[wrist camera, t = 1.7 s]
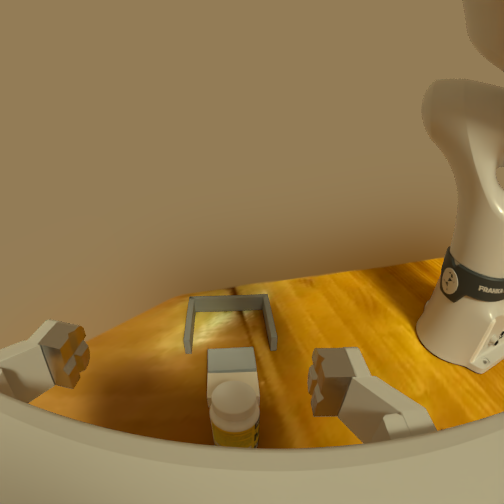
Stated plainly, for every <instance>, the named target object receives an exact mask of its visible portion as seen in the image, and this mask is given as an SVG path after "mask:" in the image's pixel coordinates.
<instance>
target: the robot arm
mask: <svg viewBox="0 0 504 504" xmlns="http://www.w3.org/2000/svg"><path fill="white" fill-rule="evenodd" d="M462 1H463V7H464V13H465V19H466V27H467V33H468V36H469V38H470V41H471V42H472V44H473V45H474V47H475V48H476V49H477V50H478V52H479V53H481V55H483V57H485V58H486V59H487V60H488V61H489V62H491V63H492V64H493V65H495V66H496V67H498V68H499V69H501V70H502V71H503V72H504V0H462ZM422 119H423V123H424V126H425V129H426V131H427V133H428V135H429V137H430V138H431V140H432V141H433V142H434V143H435V144H436V145H437V146H438V148H439V149H440V150H441V151H442V152H443V154H444V156H445V157H446V159H447V160H448V162H449V164H450V166H451V169H452V171H453V174H454V177H455V181H456V185H457V191H458V208H457V216H456V223H455V229H454V234H453V238H452V243H451V246H450V247H448V249H447V252H446V255H445V257H444V262H443V265H442V269H441V275H440V278H439V280H438V282H437V285H436V287H435V289H434V291H433V294H432V296H431V298H430V301H427V303H426V305H425V307H424V312H423V314H422V315H421V317H420V318H419V320H418V321H417V325H416V331H417V334H418V337H419V339H420V340H421V342H422V343H423V345H424V346H425V347H426V348H427V349H428V350H429V351H430V352H432V353H433V354H434V355H436V356H438V357H439V358H441V359H443V360H445V361H448V362H451V363H454V364H458V365H462V366H465V367H467V368H469V369H471V370H472V371H474V372H477V373H480V374H482V373H484V372H486V371H487V370H489V369H490V368H491V367H493V366H494V365H496V364H497V363H498V362H500V361H501V360H502V359H504V189H503V188H502V187H501V186H500V184H499V183H498V181H497V178H496V169H497V168H498V167H504V88H503V87H499V86H495V85H491V84H486V83H482V82H478V81H473V80H468V79H442V80H436V81H435V82H433V83H432V84H431V85H430V86H429V88H428V89H427V91H426V93H425V95H424V98H423V102H422ZM85 336H86V335H85V331H84V328H83V327H82V326H79V325H74V324H70V323H65V322H59V321H55V320H51V319H49V320H46V321H45V322H44V323H43V324H42V325H41V326H40V327H39V328H38V330H37V331H36V332H35V333H34V334H33V335H32V336H31V337H30V338H29V339H28V340H27V341H21V342H19V343H16V344H14V345H11V346H8V347H6V348H3V349H0V504H504V412H501V413H499V414H496V415H493V416H490V417H486V418H483V419H480V420H477V421H473V422H470V423H466V424H463V425H459V426H455V427H452V428H448V429H444V430H439V431H437V430H436V428H435V426H434V424H433V422H432V420H431V418H430V416H429V414H428V412H427V410H426V408H424V407H423V406H421V405H419V404H418V403H416V402H415V401H413V400H412V399H410V398H408V397H407V396H405V395H404V394H402V393H401V392H399V391H398V390H396V389H394V388H393V387H391V386H390V385H388V384H387V383H385V382H384V381H382V380H381V379H379V378H378V377H376V376H371V374H370V372H369V370H368V367H367V365H366V363H365V361H364V359H363V356H362V354H361V352H360V350H359V348H358V347H343V348H315V349H314V351H313V355H312V360H313V365H312V366H311V367H310V368H309V373H308V391H309V394H310V395H312V400H311V406H312V411H313V416H314V417H320V416H338V418H339V419H340V420H341V421H342V422H343V423H344V424H345V425H346V426H347V427H348V428H349V429H350V430H351V431H352V432H353V433H354V434H355V435H356V436H357V437H358V438H359V439H360V440H361V441H362V442H363V443H364V444H356V445H346V446H334V447H319V448H293V449H266V448H239V447H224V446H212V445H202V444H193V443H185V442H178V441H171V440H164V439H158V438H152V437H146V436H141V435H136V434H131V433H126V432H122V431H117V430H113V429H108V428H104V427H100V426H96V425H93V424H89V423H85V422H82V421H78V420H75V419H71V418H68V417H65V416H62V415H59V414H56V413H53V412H50V411H47V410H44V409H41V408H38V407H35V406H33V405H30V404H27V403H29V402H30V401H32V400H33V399H35V398H37V397H38V396H40V395H41V394H43V393H44V392H46V391H47V390H49V389H50V388H52V387H53V386H55V385H58V386H62V387H66V388H70V389H74V387H75V386H76V384H77V382H78V381H79V379H80V374H79V373H80V372H82V371H84V370H85V369H86V368H87V366H88V364H89V359H90V351H89V347H88V345H87V344H86V343H85V341H84V338H85Z"/></svg>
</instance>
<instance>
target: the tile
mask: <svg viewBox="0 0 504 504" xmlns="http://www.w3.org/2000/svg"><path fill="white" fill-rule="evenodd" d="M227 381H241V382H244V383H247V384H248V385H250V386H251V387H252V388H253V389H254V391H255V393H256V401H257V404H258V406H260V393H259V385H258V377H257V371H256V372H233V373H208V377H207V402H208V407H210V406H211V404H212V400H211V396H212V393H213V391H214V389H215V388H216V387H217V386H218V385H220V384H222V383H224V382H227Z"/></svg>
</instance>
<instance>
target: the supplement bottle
mask: <svg viewBox="0 0 504 504" xmlns="http://www.w3.org/2000/svg"><path fill="white" fill-rule="evenodd" d="M211 400H212V404H211V406H210V420H211V426H212V432H213V439H214V444H215V446H224V447H239V448H257V446H258V440H259V418H260V410H259V406H258V404H257V401H256V393H255V391H254V389H253V388H252V387H251V386H250V385H248V384H247V383H244V382H241V381H227V382H224V383H222V384H220V385H218V386H217V387H216V388H215V389H214V391H213V393H212V396H211Z"/></svg>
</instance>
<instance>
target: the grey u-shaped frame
mask: <svg viewBox="0 0 504 504" xmlns="http://www.w3.org/2000/svg"><path fill="white" fill-rule="evenodd" d="M242 310H263V314H264V319H265V324H266V329H267V334H268V340H269V345H270V350H271V351H274V350H276V348H277V334H276V329H275V325H274V320H273V316H272V312H271V307H270V303H269V298H268V294H258V295H231V296H194V297H190V298H189V304H188V312H187V319H186V326H185V334H184V346H185V351H186V354H192V343H193V332H194V322H195V312H211V311H242Z"/></svg>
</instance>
